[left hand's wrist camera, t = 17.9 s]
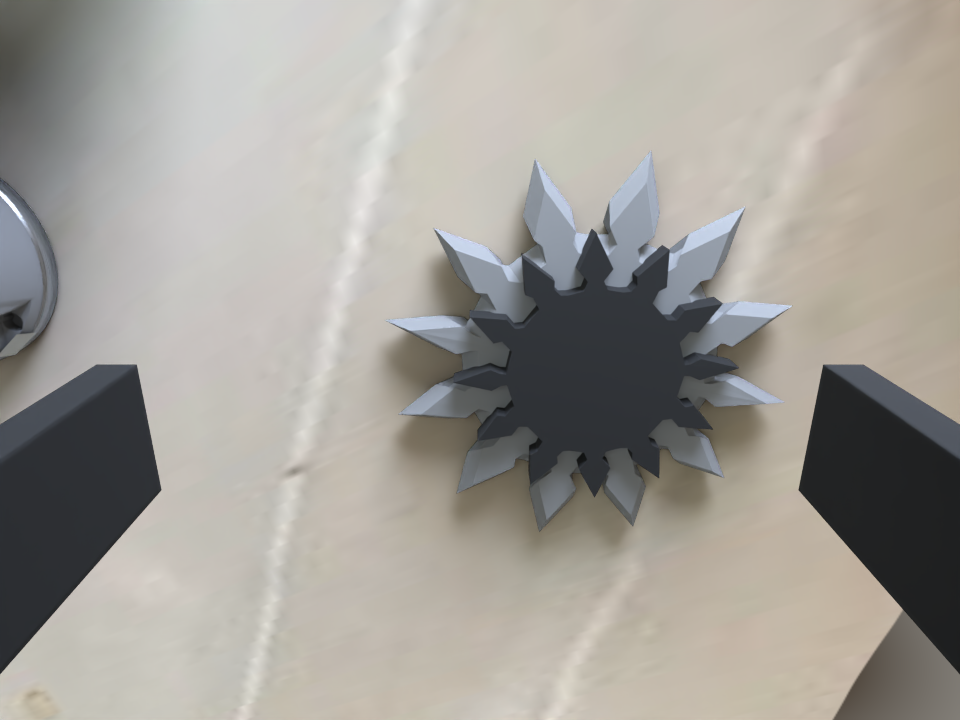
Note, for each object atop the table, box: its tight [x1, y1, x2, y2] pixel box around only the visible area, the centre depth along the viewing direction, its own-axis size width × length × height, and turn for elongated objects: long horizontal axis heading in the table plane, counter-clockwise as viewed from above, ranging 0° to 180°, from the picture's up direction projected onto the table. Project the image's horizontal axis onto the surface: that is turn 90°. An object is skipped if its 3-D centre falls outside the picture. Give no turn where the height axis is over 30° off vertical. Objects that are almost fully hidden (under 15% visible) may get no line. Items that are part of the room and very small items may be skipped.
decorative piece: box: [385, 151, 792, 532], centre depth 46 cm, size 30×4×30 cm
